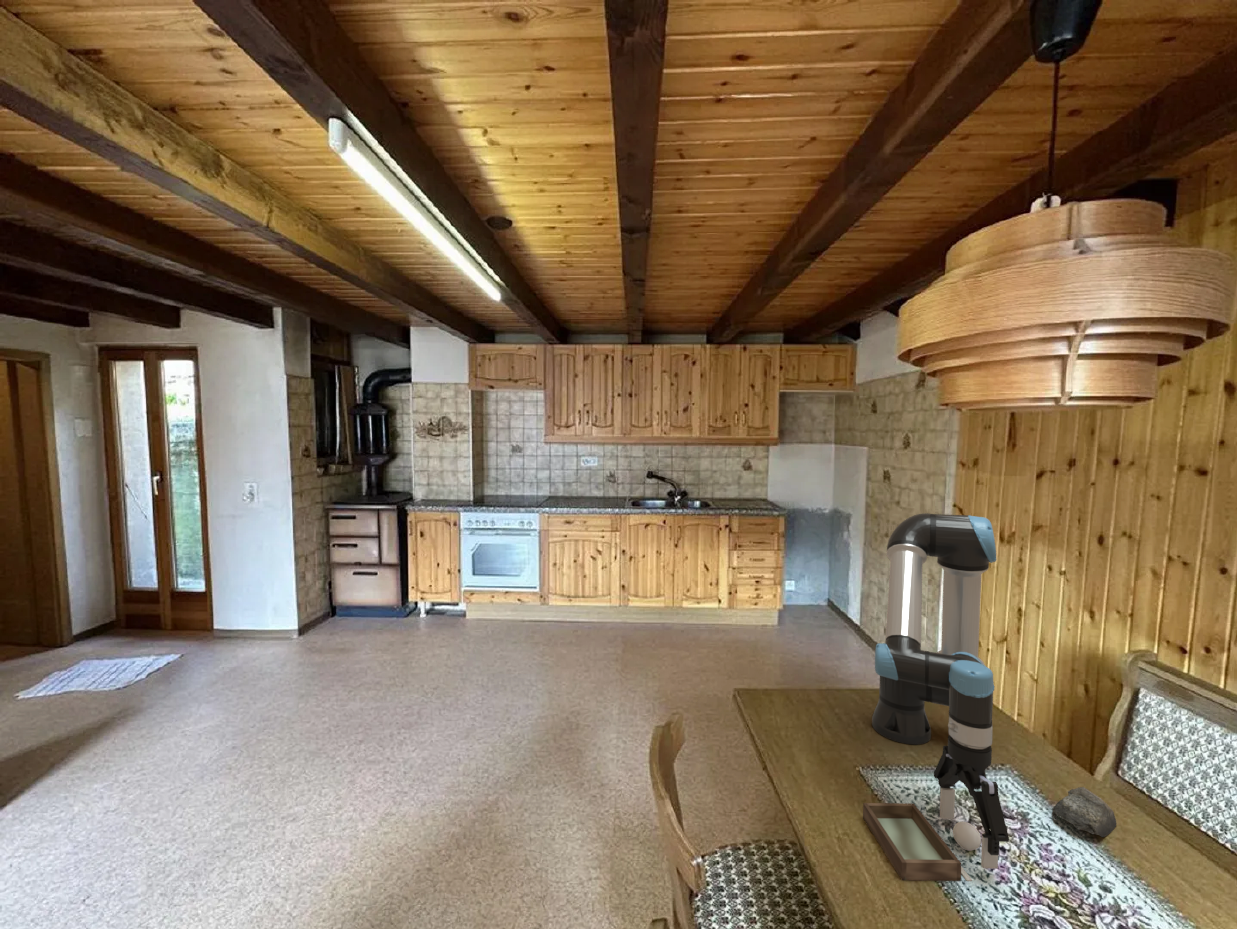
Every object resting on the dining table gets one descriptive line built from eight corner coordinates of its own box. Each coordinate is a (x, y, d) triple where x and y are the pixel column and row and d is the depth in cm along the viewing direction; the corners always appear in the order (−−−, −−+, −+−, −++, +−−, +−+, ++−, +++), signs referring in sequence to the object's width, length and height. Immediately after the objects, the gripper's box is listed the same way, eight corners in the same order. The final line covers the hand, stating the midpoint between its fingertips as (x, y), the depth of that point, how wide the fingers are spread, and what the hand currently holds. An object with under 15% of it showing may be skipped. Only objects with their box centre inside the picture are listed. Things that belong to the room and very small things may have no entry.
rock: (1093, 848, 110) (1094, 816, 110) (1044, 822, 117) (1044, 793, 117) (1120, 825, 116) (1120, 796, 116) (1071, 803, 124) (1072, 775, 124)
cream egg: (971, 839, 112) (971, 816, 112) (986, 857, 107) (987, 833, 107) (947, 839, 112) (948, 816, 112) (961, 857, 108) (962, 833, 107)
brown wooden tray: (913, 818, 118) (913, 803, 118) (960, 881, 102) (961, 863, 102) (863, 818, 119) (863, 803, 118) (901, 880, 102) (902, 862, 102)
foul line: (923, 818, 118) (923, 817, 118) (971, 881, 102) (971, 880, 102) (918, 818, 118) (918, 817, 118) (966, 881, 102) (966, 879, 102)
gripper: (917, 709, 121) (915, 800, 122) (992, 777, 97) (989, 891, 97) (950, 710, 121) (948, 801, 122) (1034, 778, 96) (1031, 891, 97)
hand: (966, 841), depth 110 cm, fingers open, 13 cm apart
